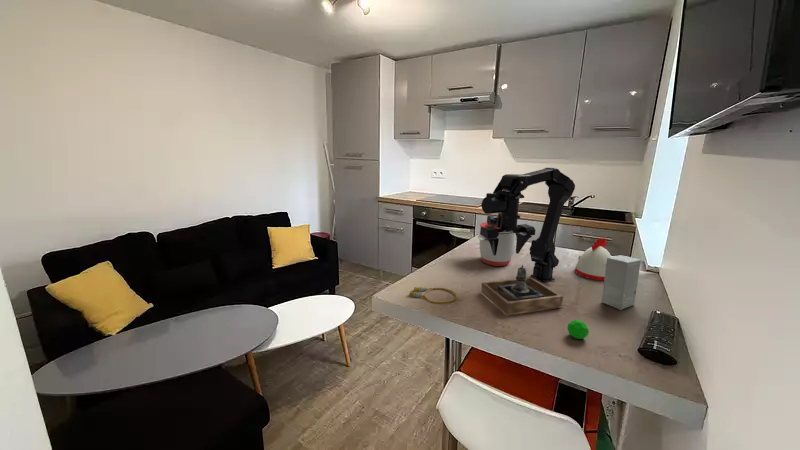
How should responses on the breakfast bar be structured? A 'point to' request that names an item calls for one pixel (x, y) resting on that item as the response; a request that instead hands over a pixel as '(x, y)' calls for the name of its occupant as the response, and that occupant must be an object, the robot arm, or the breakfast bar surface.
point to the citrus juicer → (503, 249)
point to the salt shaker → (520, 283)
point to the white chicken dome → (593, 261)
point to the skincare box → (620, 281)
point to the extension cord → (421, 289)
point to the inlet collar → (508, 295)
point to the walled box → (522, 306)
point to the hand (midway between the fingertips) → (505, 254)
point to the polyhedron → (578, 329)
